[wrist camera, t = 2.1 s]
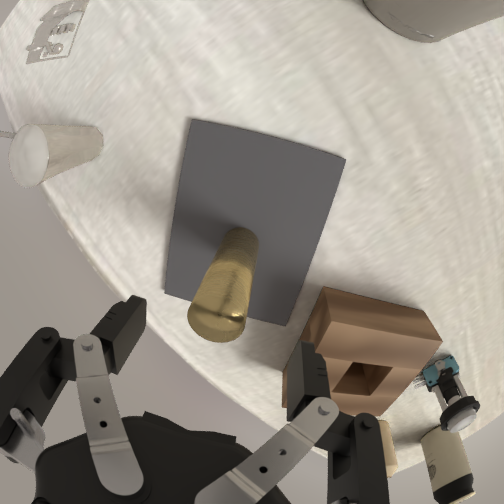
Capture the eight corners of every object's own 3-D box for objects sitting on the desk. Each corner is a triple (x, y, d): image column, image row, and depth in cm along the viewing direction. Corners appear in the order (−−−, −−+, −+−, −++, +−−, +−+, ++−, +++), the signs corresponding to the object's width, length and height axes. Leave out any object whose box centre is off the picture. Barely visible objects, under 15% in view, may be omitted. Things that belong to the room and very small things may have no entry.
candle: (385, 416, 33) (397, 470, 24) (390, 428, 34) (401, 477, 25) (352, 428, 34) (358, 482, 25) (360, 439, 36) (366, 488, 27)
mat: (193, 119, 19) (192, 119, 19) (345, 159, 20) (346, 159, 19) (165, 291, 26) (164, 293, 26) (285, 323, 26) (285, 326, 26)
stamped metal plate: (93, 0, 14) (85, -3, 13) (72, 58, 17) (63, 56, 16) (46, 12, 14) (38, 10, 13) (29, 64, 17) (20, 63, 16)
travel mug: (461, 417, 34) (485, 487, 18) (442, 438, 37) (459, 503, 21) (432, 425, 34) (453, 503, 18) (413, 445, 38) (428, 516, 21)
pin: (226, 223, 22) (190, 289, 13) (263, 232, 22) (251, 305, 13) (219, 255, 23) (184, 333, 14) (254, 265, 24) (238, 348, 14)
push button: (413, 388, 30) (432, 446, 21) (409, 368, 28) (433, 431, 19) (453, 368, 28) (479, 421, 19) (454, 345, 26) (485, 403, 17)
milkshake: (88, 103, 19) (5, 106, 10) (118, 142, 20) (34, 159, 11) (63, 138, 20) (-16, 156, 11) (90, 177, 22) (11, 208, 13)
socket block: (323, 286, 24) (331, 320, 20) (423, 311, 24) (442, 341, 20) (282, 372, 29) (281, 407, 25) (372, 385, 29) (379, 416, 25)
